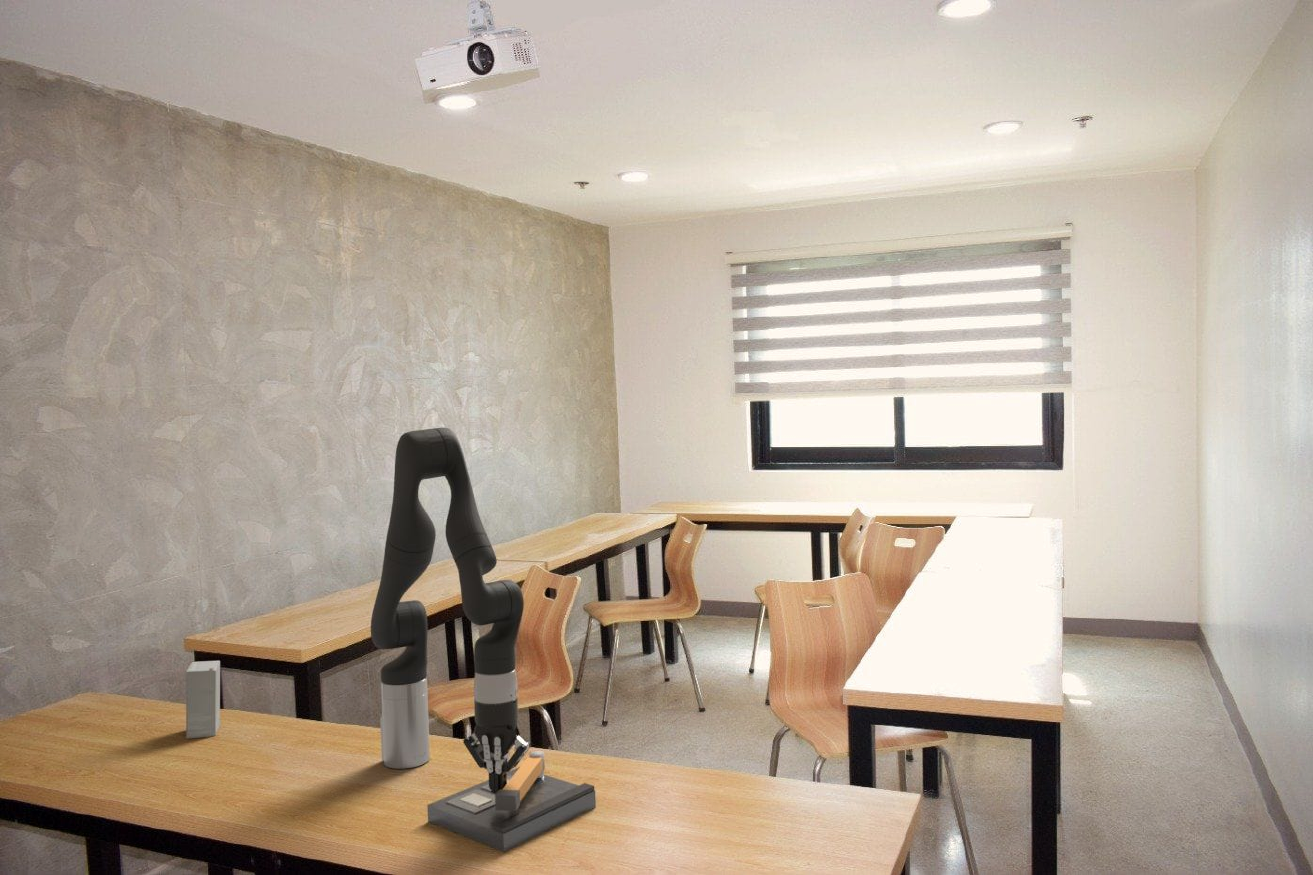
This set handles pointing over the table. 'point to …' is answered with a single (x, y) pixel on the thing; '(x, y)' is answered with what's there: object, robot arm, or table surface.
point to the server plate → (508, 829)
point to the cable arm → (520, 782)
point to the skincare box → (202, 699)
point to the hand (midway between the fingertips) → (498, 792)
